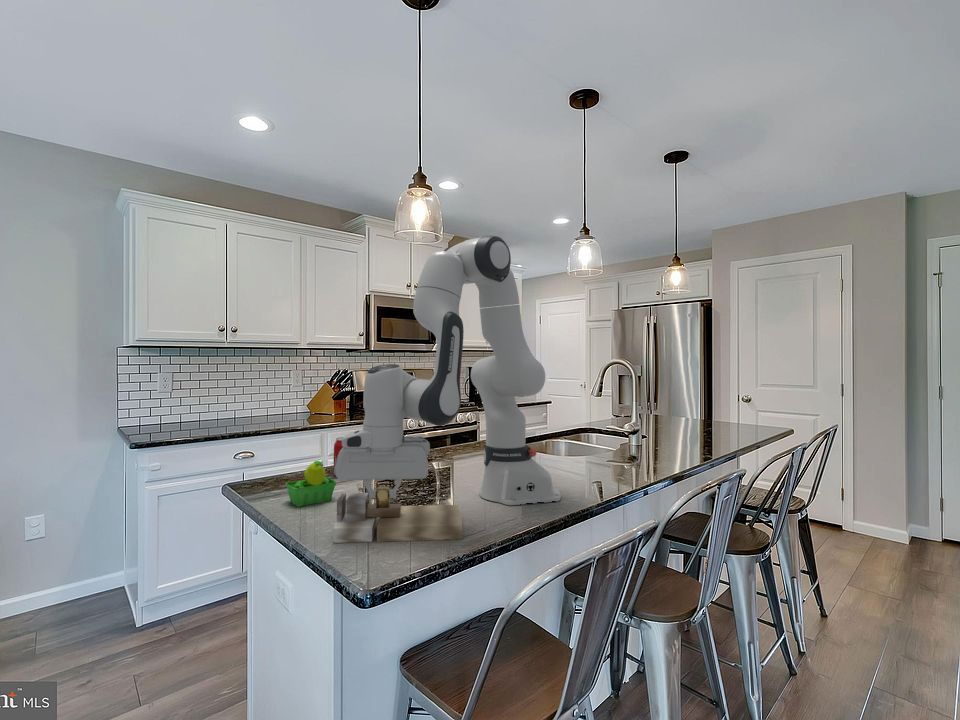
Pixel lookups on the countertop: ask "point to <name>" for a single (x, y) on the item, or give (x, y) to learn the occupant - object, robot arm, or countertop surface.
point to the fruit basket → (311, 486)
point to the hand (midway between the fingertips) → (382, 498)
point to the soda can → (337, 451)
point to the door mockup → (395, 522)
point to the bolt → (383, 505)
